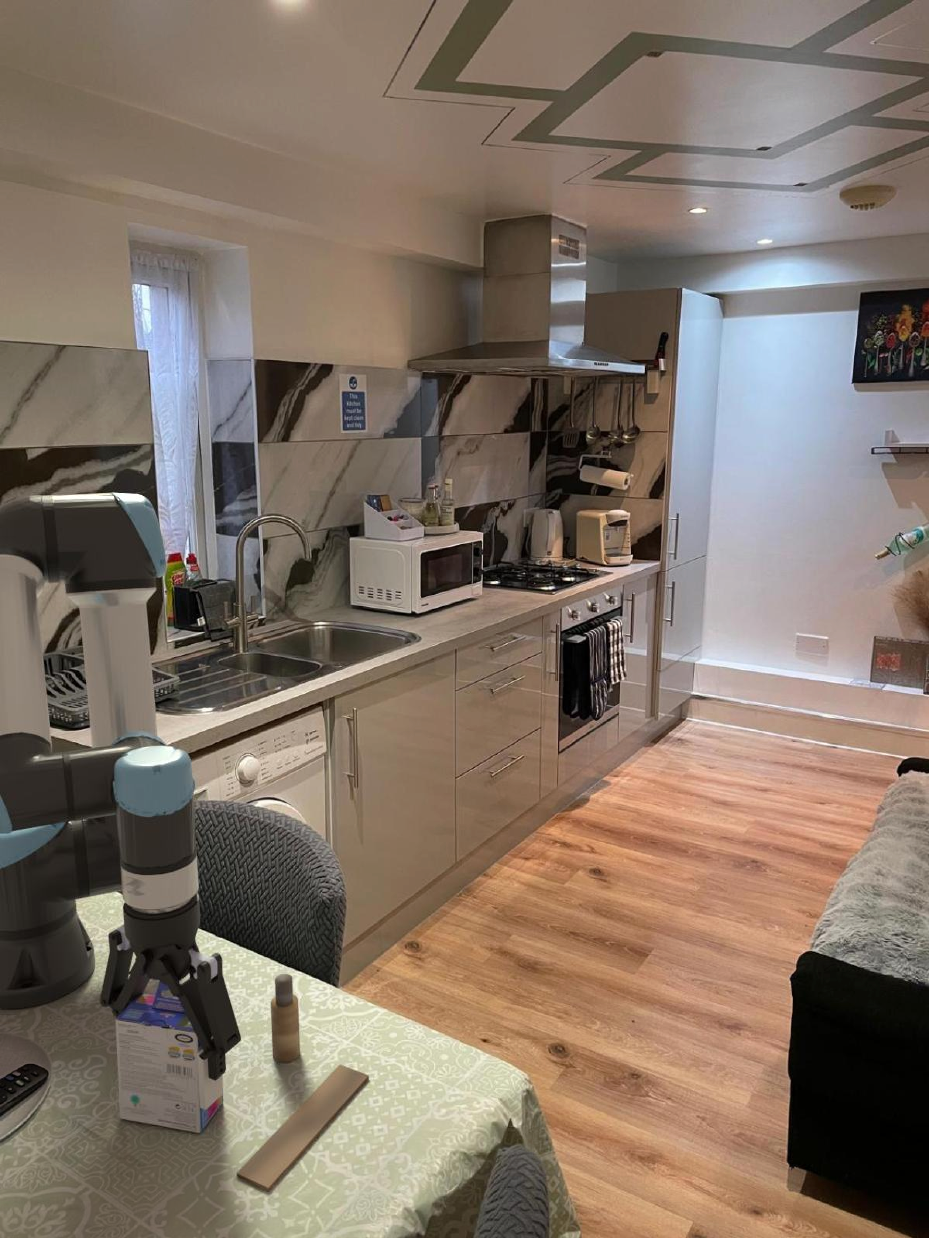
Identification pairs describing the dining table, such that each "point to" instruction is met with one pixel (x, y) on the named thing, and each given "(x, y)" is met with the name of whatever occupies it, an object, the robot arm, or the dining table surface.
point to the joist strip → (302, 1128)
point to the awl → (285, 1021)
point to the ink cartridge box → (159, 1064)
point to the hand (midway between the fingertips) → (172, 1083)
